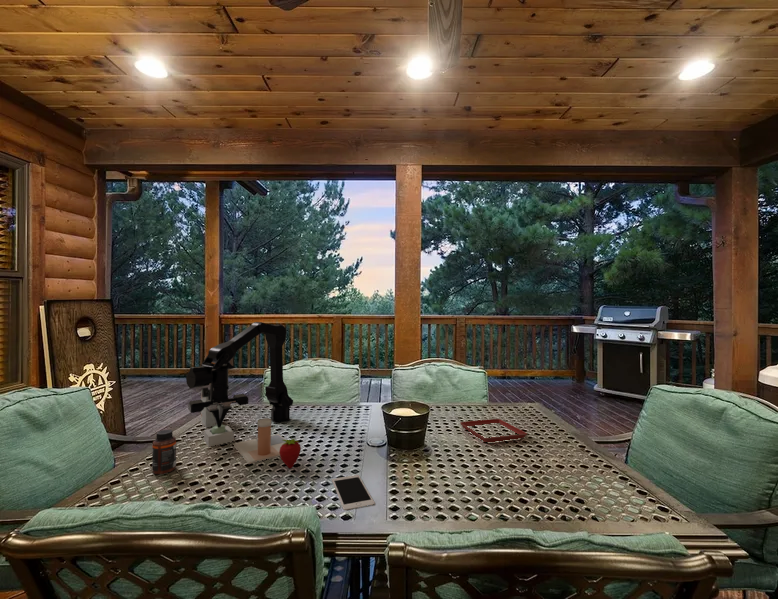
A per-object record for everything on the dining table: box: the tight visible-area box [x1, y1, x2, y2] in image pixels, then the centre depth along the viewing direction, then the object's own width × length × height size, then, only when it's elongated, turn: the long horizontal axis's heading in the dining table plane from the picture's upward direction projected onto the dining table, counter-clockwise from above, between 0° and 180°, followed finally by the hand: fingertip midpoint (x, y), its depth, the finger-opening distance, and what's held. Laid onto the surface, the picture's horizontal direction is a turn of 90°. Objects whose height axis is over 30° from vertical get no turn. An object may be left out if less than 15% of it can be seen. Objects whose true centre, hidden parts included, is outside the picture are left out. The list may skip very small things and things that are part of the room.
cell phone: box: [331, 474, 376, 511], centre depth 97 cm, size 8×16×1 cm, turn 19°
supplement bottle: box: [151, 429, 177, 475], centre depth 107 cm, size 6×6×11 cm
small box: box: [200, 390, 220, 428], centre depth 148 cm, size 8×6×13 cm
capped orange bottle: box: [257, 417, 272, 456], centre depth 119 cm, size 4×4×10 cm
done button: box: [211, 424, 226, 434], centre depth 130 cm, size 4×4×4 cm
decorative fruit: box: [279, 434, 302, 469], centre depth 110 cm, size 6×8×10 cm
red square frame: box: [459, 418, 528, 443], centre depth 139 cm, size 18×18×3 cm
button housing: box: [203, 425, 235, 448], centre depth 130 cm, size 8×8×4 cm
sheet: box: [232, 433, 286, 465], centre depth 124 cm, size 16×18×1 cm
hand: (218, 427), depth 130 cm, fingers closed, pressing on done button
